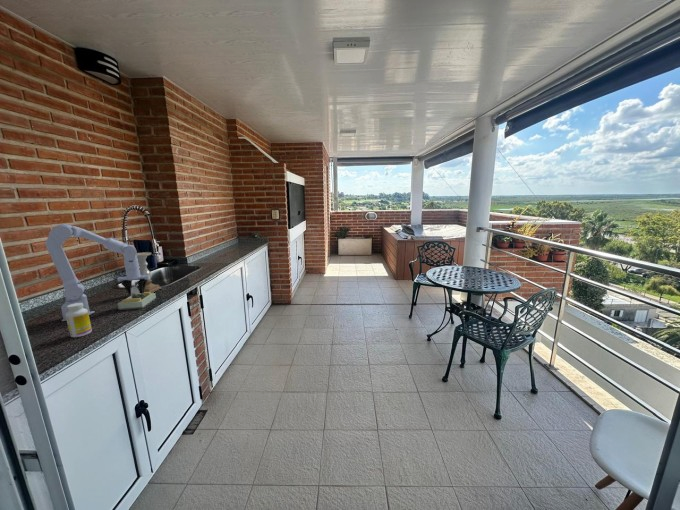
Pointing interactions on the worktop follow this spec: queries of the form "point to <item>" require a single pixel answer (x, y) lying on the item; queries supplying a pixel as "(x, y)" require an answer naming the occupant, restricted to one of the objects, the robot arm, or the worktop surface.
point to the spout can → (135, 291)
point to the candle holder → (146, 272)
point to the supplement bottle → (78, 320)
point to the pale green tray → (137, 301)
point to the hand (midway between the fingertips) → (136, 293)
